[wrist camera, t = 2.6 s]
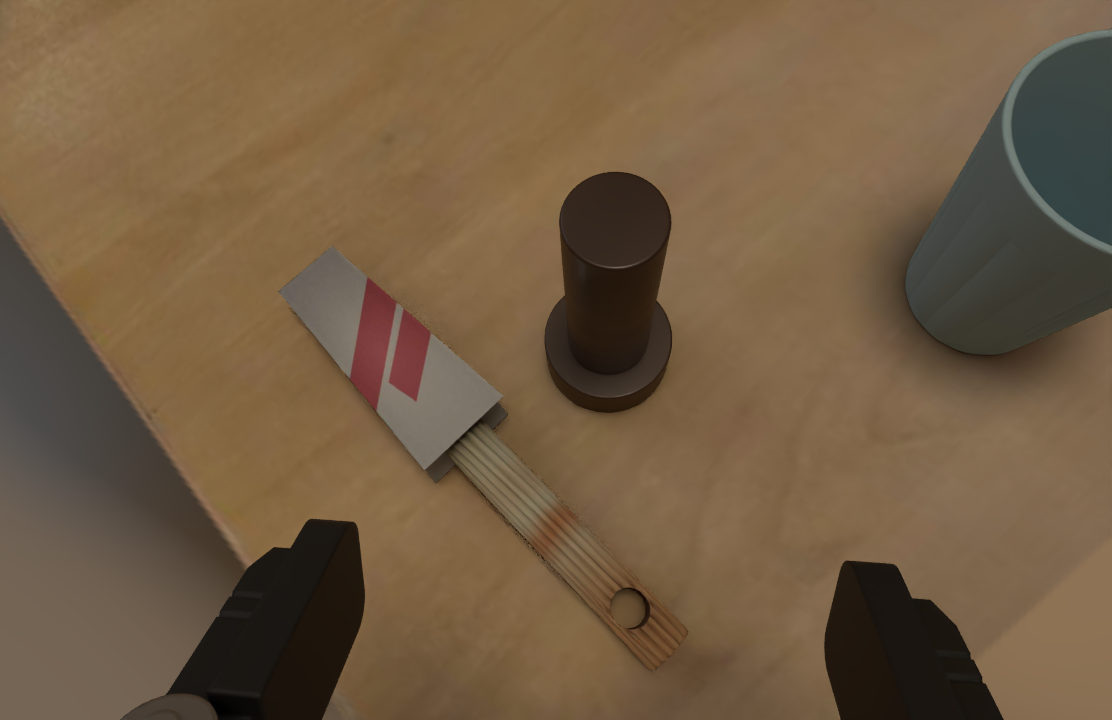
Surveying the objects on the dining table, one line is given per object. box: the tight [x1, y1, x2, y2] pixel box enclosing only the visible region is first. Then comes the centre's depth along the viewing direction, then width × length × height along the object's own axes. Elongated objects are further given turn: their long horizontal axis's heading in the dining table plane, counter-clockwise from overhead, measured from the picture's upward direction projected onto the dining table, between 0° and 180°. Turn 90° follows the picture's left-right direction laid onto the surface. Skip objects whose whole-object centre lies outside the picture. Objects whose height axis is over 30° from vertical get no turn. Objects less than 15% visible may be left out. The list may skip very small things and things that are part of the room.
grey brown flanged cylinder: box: [545, 172, 672, 412], centre depth 26 cm, size 5×5×11 cm
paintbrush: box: [278, 246, 688, 671], centre depth 29 cm, size 4×3×20 cm
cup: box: [905, 30, 1112, 355], centre depth 27 cm, size 8×8×10 cm
